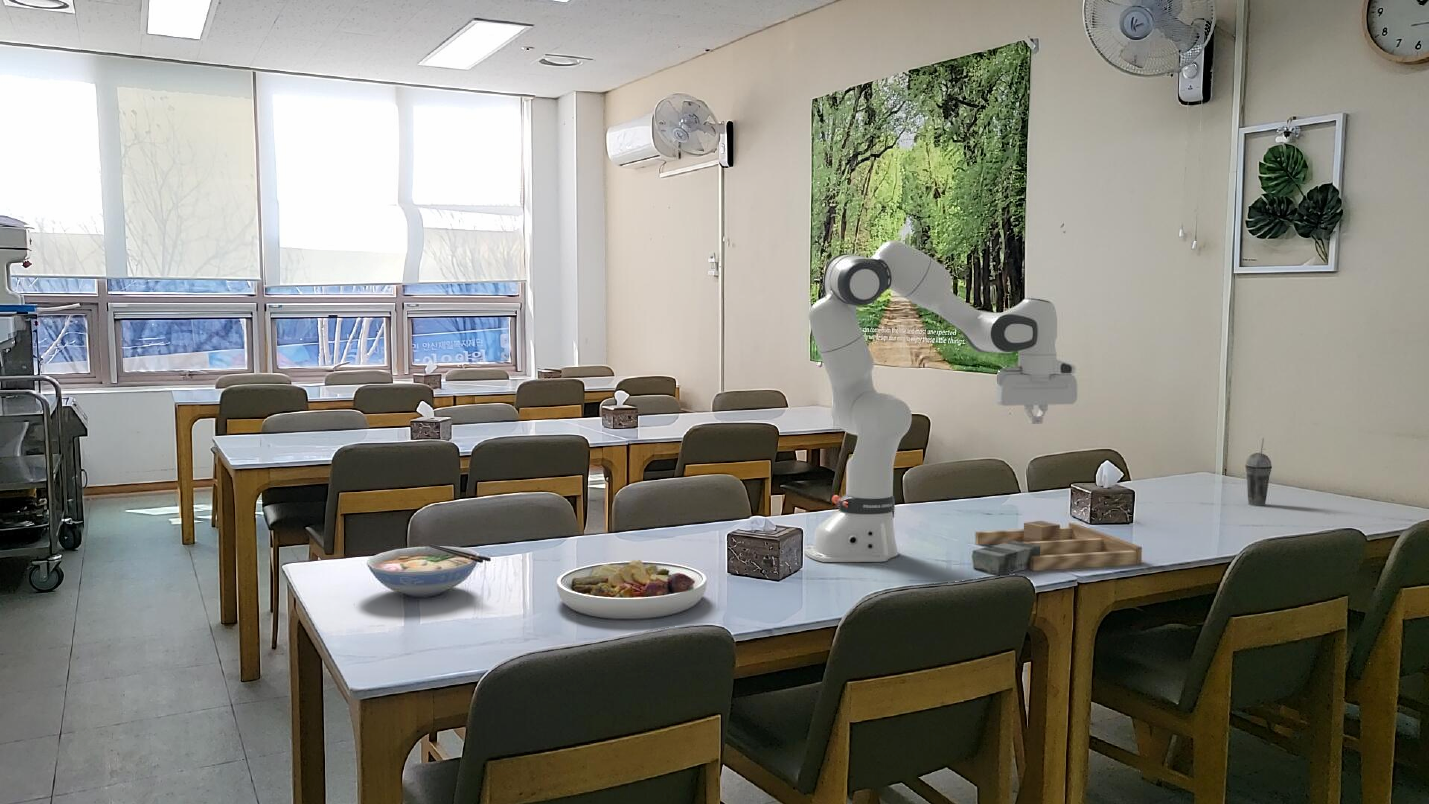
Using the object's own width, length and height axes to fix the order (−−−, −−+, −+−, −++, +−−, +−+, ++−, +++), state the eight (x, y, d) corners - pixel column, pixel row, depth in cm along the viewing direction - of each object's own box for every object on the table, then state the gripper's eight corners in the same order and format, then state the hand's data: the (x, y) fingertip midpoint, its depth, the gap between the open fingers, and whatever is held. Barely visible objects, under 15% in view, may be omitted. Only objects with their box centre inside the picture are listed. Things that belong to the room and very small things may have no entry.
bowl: (525, 608, 216) (525, 569, 215) (620, 577, 241) (620, 542, 240) (646, 633, 199) (645, 591, 198) (734, 597, 224) (735, 559, 223)
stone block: (967, 569, 248) (967, 547, 247) (1009, 561, 256) (1010, 539, 256) (998, 577, 241) (998, 554, 240) (1040, 568, 249) (1041, 545, 248)
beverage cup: (1237, 503, 329) (1240, 437, 327) (1257, 501, 331) (1260, 436, 329) (1256, 507, 322) (1259, 440, 320) (1276, 506, 324) (1279, 439, 322)
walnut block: (1041, 551, 265) (1041, 527, 264) (1023, 546, 270) (1024, 522, 270) (1059, 548, 268) (1059, 524, 267) (1041, 544, 273) (1041, 520, 272)
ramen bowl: (344, 591, 227) (343, 553, 226) (442, 572, 243) (441, 536, 242) (404, 616, 209) (403, 574, 208) (505, 594, 225) (504, 555, 224)
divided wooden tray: (1033, 570, 245) (1034, 553, 245) (975, 543, 273) (975, 527, 273) (1141, 564, 252) (1142, 547, 251) (1073, 538, 279) (1074, 522, 279)
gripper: (1003, 367, 256) (1002, 426, 257) (1081, 366, 261) (1080, 423, 262) (991, 366, 262) (989, 423, 263) (1067, 365, 267) (1065, 421, 268)
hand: (1035, 423), depth 263 cm, fingers closed
